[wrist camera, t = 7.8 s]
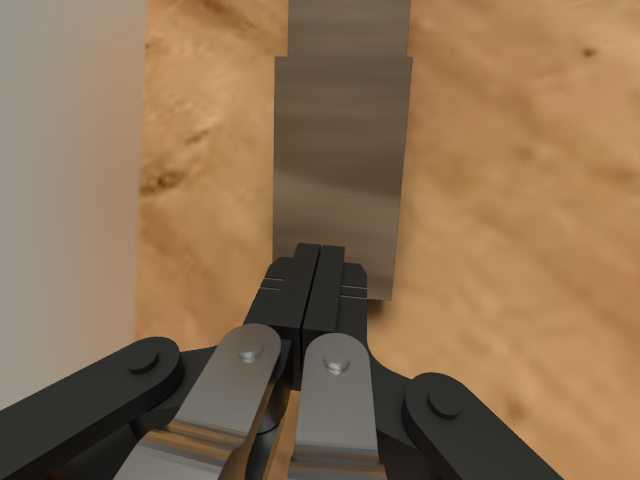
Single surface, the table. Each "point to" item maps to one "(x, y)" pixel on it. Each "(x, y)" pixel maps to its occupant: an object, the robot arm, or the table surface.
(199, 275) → the table surface
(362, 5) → the domino
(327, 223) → the domino
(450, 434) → the robot arm
